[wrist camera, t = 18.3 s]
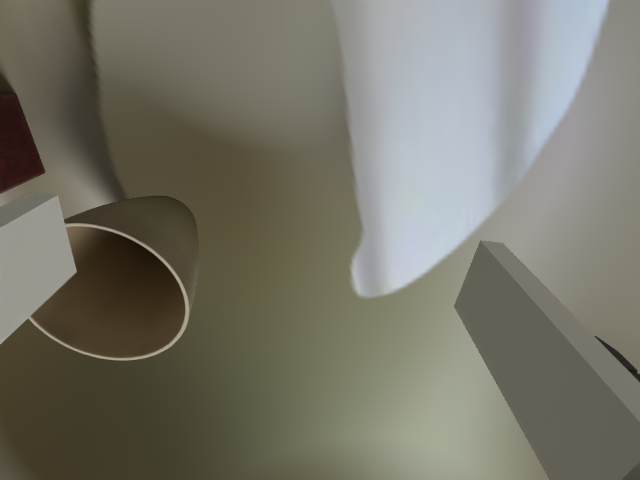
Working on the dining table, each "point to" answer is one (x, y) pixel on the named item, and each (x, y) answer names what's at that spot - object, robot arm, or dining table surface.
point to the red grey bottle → (16, 145)
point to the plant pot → (126, 280)
